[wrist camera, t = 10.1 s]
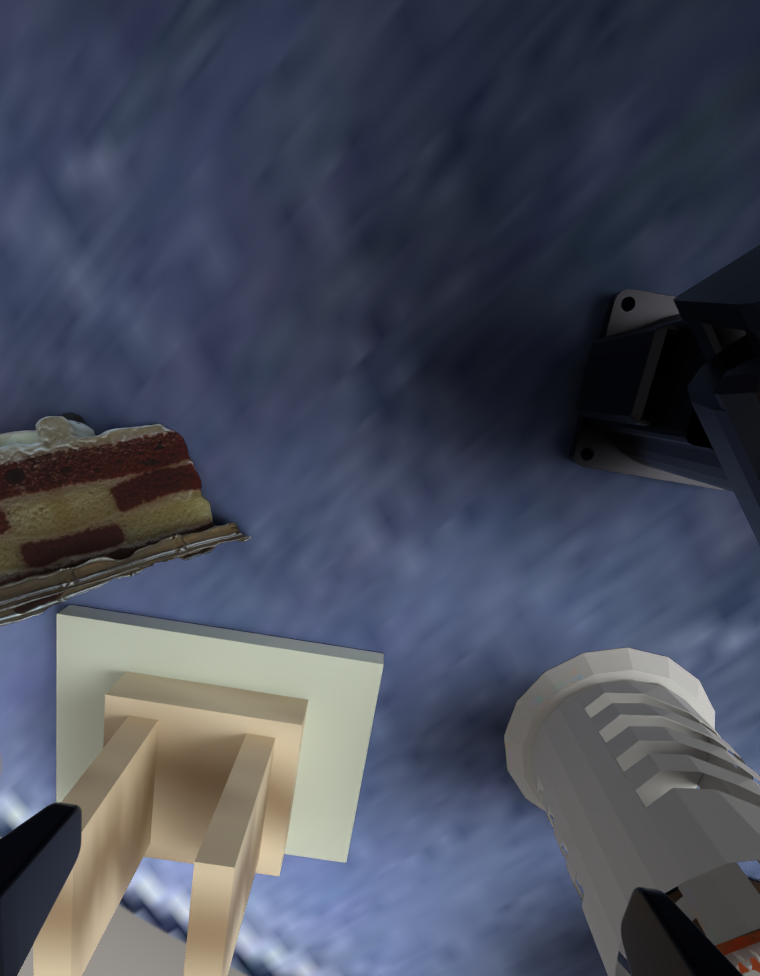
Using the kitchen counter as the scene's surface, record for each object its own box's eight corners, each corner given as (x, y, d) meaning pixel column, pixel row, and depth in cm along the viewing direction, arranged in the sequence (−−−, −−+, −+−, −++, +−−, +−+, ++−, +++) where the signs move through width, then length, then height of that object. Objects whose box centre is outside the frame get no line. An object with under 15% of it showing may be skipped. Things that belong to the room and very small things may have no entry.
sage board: (383, 653, 20) (383, 664, 19) (347, 846, 22) (346, 862, 21) (69, 604, 19) (56, 613, 19) (68, 805, 22) (56, 821, 21)
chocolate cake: (216, 367, 18) (-310, 371, 10) (268, 535, 17) (-249, 682, 9) (161, 448, 25) (-169, 488, 17) (196, 568, 24) (-129, 667, 16)
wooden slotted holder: (286, 842, 21) (243, 1037, 15) (119, 817, 21) (3, 1005, 15) (308, 699, 19) (270, 851, 13) (126, 671, 19) (-2, 811, 13)
